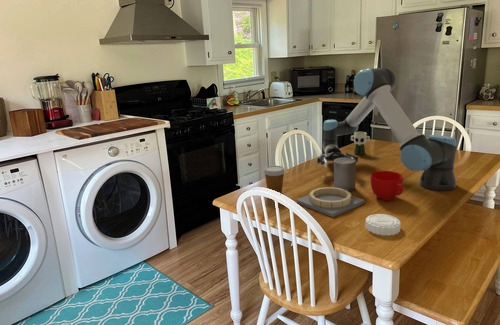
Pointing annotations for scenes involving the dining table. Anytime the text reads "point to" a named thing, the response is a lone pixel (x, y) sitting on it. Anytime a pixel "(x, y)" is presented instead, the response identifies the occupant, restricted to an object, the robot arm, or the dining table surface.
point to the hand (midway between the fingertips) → (340, 164)
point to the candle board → (332, 198)
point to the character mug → (360, 141)
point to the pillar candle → (344, 173)
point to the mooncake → (382, 224)
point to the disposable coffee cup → (274, 177)
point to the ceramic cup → (386, 184)
